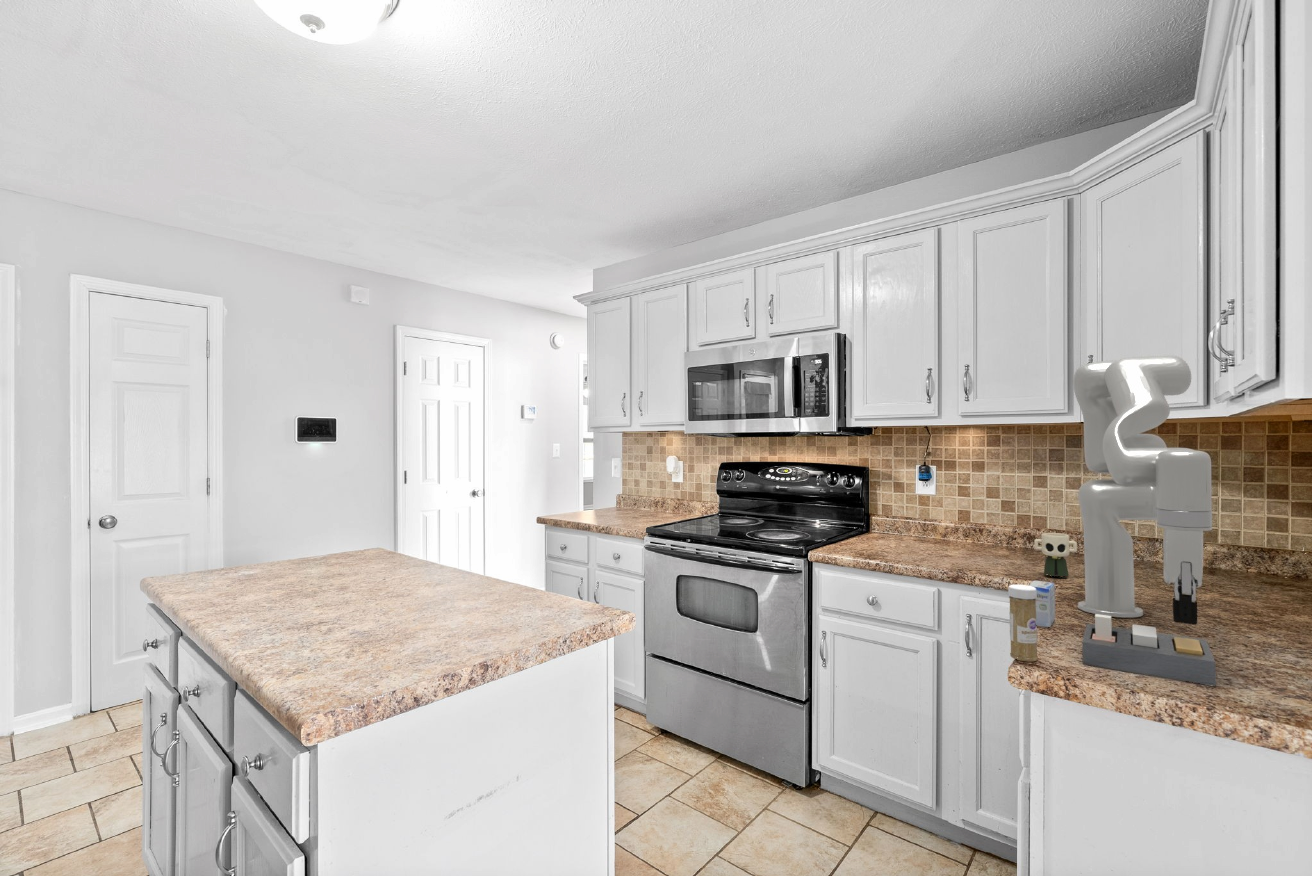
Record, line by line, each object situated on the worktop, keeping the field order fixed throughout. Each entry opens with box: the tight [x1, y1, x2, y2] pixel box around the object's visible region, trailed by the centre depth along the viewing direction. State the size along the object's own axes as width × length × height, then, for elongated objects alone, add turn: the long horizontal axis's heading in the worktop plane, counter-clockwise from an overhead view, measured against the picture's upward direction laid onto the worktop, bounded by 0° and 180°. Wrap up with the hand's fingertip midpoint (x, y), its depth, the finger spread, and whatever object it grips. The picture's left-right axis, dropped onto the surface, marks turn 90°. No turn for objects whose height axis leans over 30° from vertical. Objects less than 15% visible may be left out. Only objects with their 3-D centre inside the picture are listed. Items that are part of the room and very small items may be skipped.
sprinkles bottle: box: [1007, 584, 1039, 663], centre depth 116 cm, size 5×5×13 cm
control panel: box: [1082, 623, 1217, 687], centre depth 113 cm, size 15×18×4 cm
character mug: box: [1033, 532, 1078, 577], centre depth 189 cm, size 11×7×13 cm, turn 58°
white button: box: [1132, 624, 1157, 648], centre depth 113 cm, size 8×3×2 cm, turn 143°
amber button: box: [1174, 637, 1203, 655], centre depth 109 cm, size 8×3×2 cm, turn 143°
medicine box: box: [1028, 580, 1056, 628], centre depth 140 cm, size 8×4×9 cm, turn 141°
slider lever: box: [1092, 614, 1115, 642], centre depth 115 cm, size 4×3×5 cm
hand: (1185, 622), depth 110 cm, fingers closed
